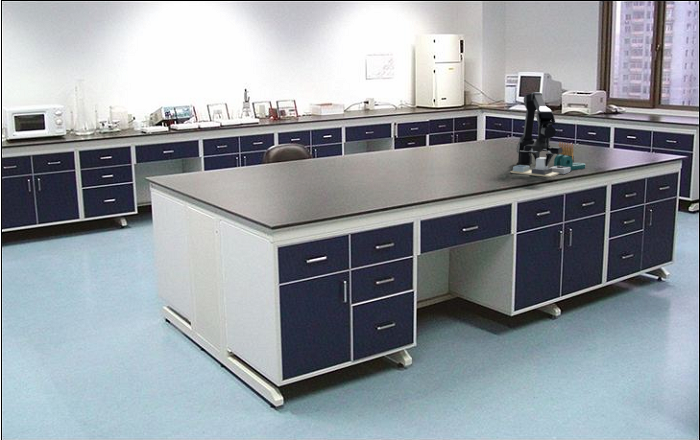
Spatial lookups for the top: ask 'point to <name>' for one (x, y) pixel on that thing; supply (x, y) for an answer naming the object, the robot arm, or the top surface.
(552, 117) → the robot arm
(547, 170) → the frame
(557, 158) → the bracket
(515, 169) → the header 3pin
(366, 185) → the top surface
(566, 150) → the ammunition clip
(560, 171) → the grey knob block
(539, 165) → the plug
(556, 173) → the board
